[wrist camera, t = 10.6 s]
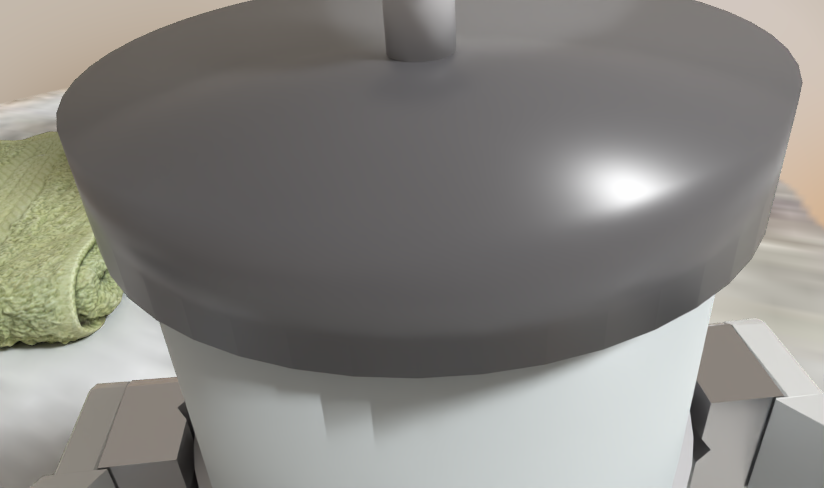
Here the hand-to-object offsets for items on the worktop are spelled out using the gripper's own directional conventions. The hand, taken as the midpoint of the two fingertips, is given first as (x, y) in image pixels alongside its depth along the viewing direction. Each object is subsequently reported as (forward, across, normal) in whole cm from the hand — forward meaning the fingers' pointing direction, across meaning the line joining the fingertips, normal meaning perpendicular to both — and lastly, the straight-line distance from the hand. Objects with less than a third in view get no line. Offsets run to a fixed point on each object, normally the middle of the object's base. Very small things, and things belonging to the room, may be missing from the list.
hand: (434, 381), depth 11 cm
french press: (-1, 0, +8) cm, 8 cm away
